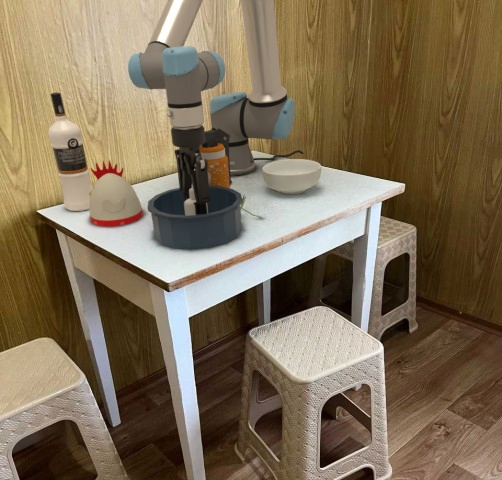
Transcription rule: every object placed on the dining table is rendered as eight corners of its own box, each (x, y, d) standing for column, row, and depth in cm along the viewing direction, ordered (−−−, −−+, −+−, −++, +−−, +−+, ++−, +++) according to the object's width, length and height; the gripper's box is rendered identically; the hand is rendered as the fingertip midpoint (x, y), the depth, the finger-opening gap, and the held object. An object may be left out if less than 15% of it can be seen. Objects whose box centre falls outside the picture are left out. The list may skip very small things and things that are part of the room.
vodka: (92, 198, 154) (67, 88, 138) (102, 207, 148) (78, 92, 131) (61, 205, 150) (32, 93, 133) (70, 214, 143) (41, 97, 127)
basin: (218, 208, 142) (216, 179, 138) (260, 235, 125) (259, 203, 121) (140, 227, 133) (134, 197, 129) (173, 258, 117) (168, 225, 112)
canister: (192, 205, 145) (184, 131, 134) (220, 195, 152) (214, 123, 141) (214, 212, 140) (207, 135, 129) (242, 201, 146) (238, 126, 135)
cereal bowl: (306, 178, 161) (307, 155, 157) (330, 194, 148) (331, 169, 144) (255, 186, 157) (254, 162, 153) (274, 203, 144) (274, 177, 140)
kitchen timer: (90, 211, 145) (78, 157, 136) (139, 205, 147) (130, 151, 139) (91, 229, 133) (78, 171, 125) (145, 222, 136) (135, 164, 128)
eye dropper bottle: (199, 225, 132) (194, 179, 126) (212, 231, 129) (207, 184, 122) (184, 230, 130) (179, 183, 123) (197, 236, 126) (192, 188, 120)
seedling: (250, 236, 137) (228, 224, 136) (261, 211, 139) (240, 199, 137) (258, 228, 130) (235, 215, 129) (270, 201, 132) (248, 188, 131)
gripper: (156, 121, 121) (169, 217, 134) (188, 136, 107) (199, 240, 120) (186, 117, 124) (196, 210, 137) (220, 130, 110) (228, 233, 123)
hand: (197, 224), depth 128 cm, fingers closed on eye dropper bottle, 5 cm apart
